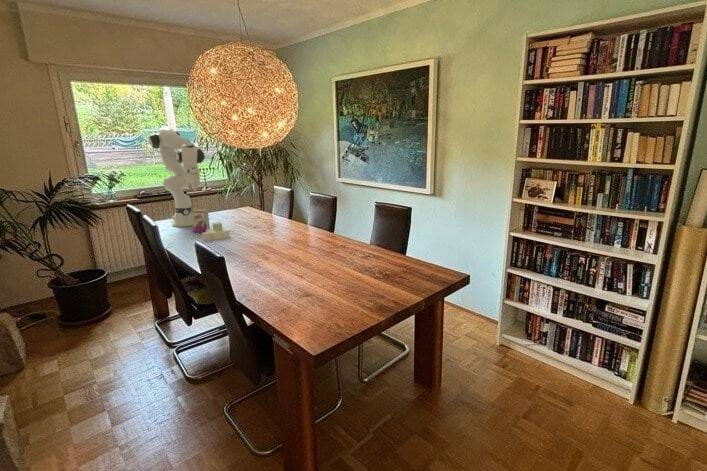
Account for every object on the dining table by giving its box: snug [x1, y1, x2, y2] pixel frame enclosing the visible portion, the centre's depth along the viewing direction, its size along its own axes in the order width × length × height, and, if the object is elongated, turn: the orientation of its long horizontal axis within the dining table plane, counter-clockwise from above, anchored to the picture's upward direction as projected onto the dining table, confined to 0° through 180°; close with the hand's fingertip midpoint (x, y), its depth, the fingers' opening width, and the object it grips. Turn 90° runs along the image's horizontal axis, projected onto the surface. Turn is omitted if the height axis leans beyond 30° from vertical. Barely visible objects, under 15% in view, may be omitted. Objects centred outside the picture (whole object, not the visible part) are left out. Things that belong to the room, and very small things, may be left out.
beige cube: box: [201, 232, 213, 242], centre depth 245 cm, size 5×5×5 cm
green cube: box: [212, 221, 223, 231], centre depth 252 cm, size 5×5×5 cm
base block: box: [206, 226, 231, 241], centre depth 254 cm, size 12×12×5 cm
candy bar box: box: [191, 208, 211, 233], centre depth 263 cm, size 11×5×16 cm, turn 84°
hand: (192, 189), depth 244 cm, fingers open, 8 cm apart
